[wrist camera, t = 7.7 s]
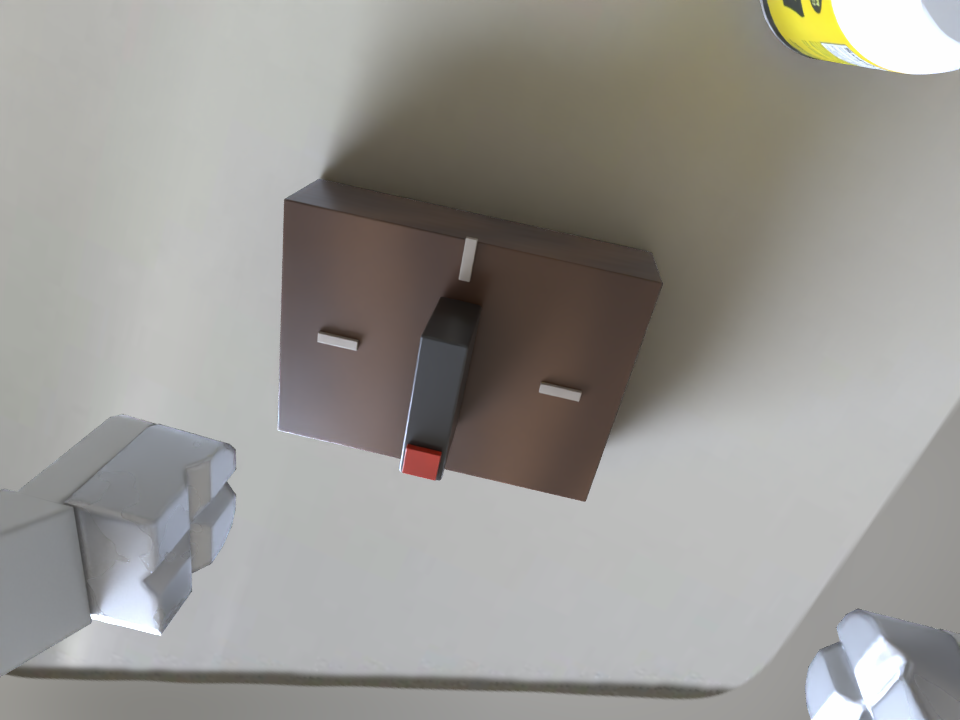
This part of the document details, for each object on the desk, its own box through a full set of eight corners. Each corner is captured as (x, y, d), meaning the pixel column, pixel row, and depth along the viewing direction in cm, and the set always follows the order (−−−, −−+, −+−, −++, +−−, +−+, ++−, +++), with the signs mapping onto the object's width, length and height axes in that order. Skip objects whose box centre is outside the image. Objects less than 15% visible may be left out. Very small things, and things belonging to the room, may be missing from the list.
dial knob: (440, 295, 20) (418, 339, 17) (482, 304, 20) (467, 350, 17) (418, 419, 22) (396, 476, 20) (456, 428, 22) (439, 486, 20)
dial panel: (653, 249, 21) (665, 281, 19) (583, 456, 26) (585, 507, 23) (318, 175, 22) (281, 196, 19) (306, 392, 26) (275, 435, 23)
